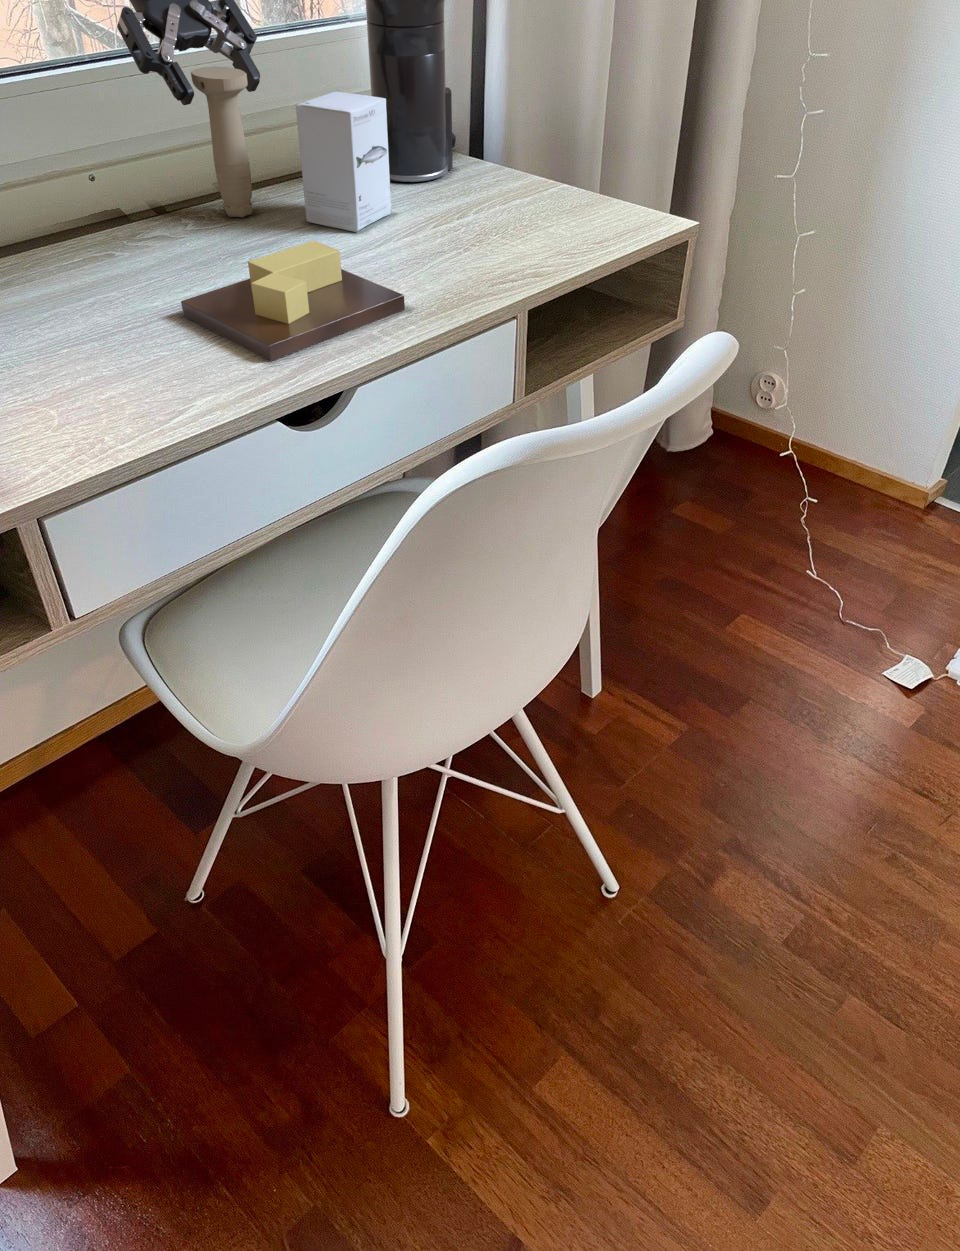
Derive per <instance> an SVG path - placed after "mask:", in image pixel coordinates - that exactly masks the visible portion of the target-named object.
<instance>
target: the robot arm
mask: <svg viewBox="0 0 960 1251" xmlns="http://www.w3.org/2000/svg"><path fill="white" fill-rule="evenodd" d="M445 1H446V0H364V2H365V16H366V32H367V34H366V35H367V47H368V63H369V65H368V66H369V79H370V83H369V84H370V96H373V97H380V98H385V99H386V113H387V134H388V155H389V176H390V181H393V182H402V183H418V182H420V183H421V182H427V181H432V180H435V179H439V178H441V177H444V176H445V175H447V173H448V171H449V170H453V168H454V166H453V163H454V162H453V149H454V148H455V147H456V142H457V136H456V135H455V134H454V132H453V109H452V108H453V107H452V105H453V104H452V103H453V101H452V100H453V99H452V96H453V95H452V94H453V93H452V89H451V88H450V87H449V86H448V87H447V86H446V48H445V44H446V43H445V37H446V36H445V3H446V2H445ZM129 2H130V4H131V6H132V7H133V9H132V8H130V7H129V6H123V7H122V9H121V11H120V15H119V18H118V22H117V24H116V27H117V31H118V32H119V34H120V36H121V38H122V39H123V42H124V43H125V45H126V47H127V49H128V52H129V53H130V55H131V57H132V59H133V61H134V63H135V65H136V67H137V68H138V71H140V73H141V74H144V75H149V74H150V72H152V73H157V75H159V76H160V77H162V78H163V81H164V82H165V84H166V85H167V87H168V89H169V91H170V92H171V94H172V96H173V97H174V98H175V99H176V101H177V102H179V101H180V103H181V105H183V106H187V105H191V104H192V101H193V99H194V97H195V91H194V88H193V86H192V85H191V83H190V81H189V80H188V78H187V76H186V75H185V73H184V71H183V69H182V67H181V66H180V64H179V62H178V61H173V60H174V56H175V49H176V50H178V52H186V51H187V50H189V49H203V48H204V47H205V48H206V49H207V50H209V51H211V52H212V53H214V54H218V53H219V54H220V55H222V56H224V57H225V58H227V59H228V60H230V61H232V64H231V65H232V66H233V67H232V68H235V69H240V70H242V71H244V72H245V73H246V74H247V82H248V85H247V87H246V88H245V89H246V91H247V92H249V93H251V92H256V90H257V88H258V86H259V85H260V81H261V80H260V79H261V73H260V71H259V69H258V67H257V66H256V64H255V62H254V60H253V58H252V56H251V52H252V50H253V48H254V45H255V43H256V41H257V39H258V35H257V34H256V32H255V31H254V29H253V27H252V26H251V25H250V23H249V21H248V20H247V18H246V16H245V15H244V13H243V12H242V10H241V9H240V7H239V5H238V4H237V2H236V1H235V0H129ZM134 11H135V12H134ZM144 29H145V30H146V31H147V32H149V33H150V34H152V35H153V36H155V37H156V38H158V39H159V40H158V47H157V52H155V51H154V49H153V47H152V45H151V43H150V41H149V39H148V37H147V36H146V34H145V32H144ZM212 29H213V30H214V31H215V32H216V38H214V37H212V36H211V35H212V31H213V30H212ZM227 43H228V44H227Z"/></svg>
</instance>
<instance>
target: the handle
mask: <svg viewBox="0 0 960 1251" xmlns="http://www.w3.org/2000/svg"><path fill="white" fill-rule="evenodd" d="M190 76H191V82H192V84H193V86H194V87H195V88H196V89H197V90H198V91H199V92H201V93H202V94H204V95H205V97H206V103H207V107H208V108H207V109H208V119H209V126H210V135H211V136H210V137H211V147H212V157H213V164H214V165H213V166H214V171H215V176H216V181H217V185H218V189H219V194H220V197H221V199H222V201H223V202H222V204H223V207H224V210H225V213H226V215H227V216H228V217H230V218H236V217H237V218H245V217H247V216H250V215H252V214H253V203H252V198H253V187H252V186H253V184H252V172H251V165H250V161H249V160H250V157H249V153H248V148H247V143H246V138H245V133H244V128H243V121H242V117H241V112H240V105H239V98H238V95H239V94H240V93H241V92H242V91H244V90H245V89H246V87H247V85H248V82H247V74H246V73H245V72H244V71H242V70H240V69H235V68H234V67H230V66H204V67H199V68H196V69H195V68H194V69H193V70H190Z"/></svg>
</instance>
